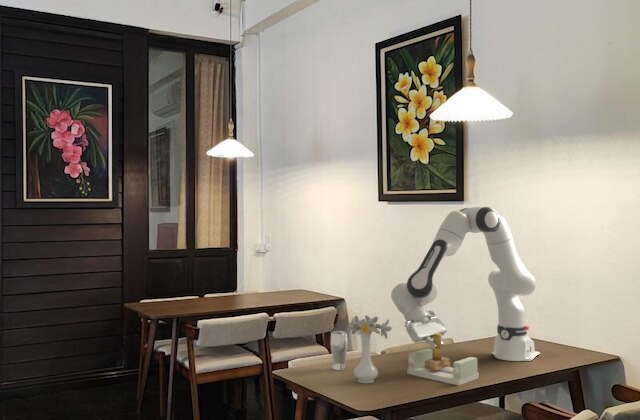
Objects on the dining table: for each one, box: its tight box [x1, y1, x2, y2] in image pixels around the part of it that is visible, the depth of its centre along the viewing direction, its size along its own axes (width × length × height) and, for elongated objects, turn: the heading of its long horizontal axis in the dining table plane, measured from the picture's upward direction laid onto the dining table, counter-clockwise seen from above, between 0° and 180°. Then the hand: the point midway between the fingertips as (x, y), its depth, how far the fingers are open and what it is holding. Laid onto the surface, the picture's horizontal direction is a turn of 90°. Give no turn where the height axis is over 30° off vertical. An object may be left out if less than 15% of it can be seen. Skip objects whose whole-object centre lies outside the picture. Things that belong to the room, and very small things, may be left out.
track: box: [406, 348, 480, 386], centre depth 256 cm, size 14×24×8 cm, turn 45°
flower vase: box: [345, 315, 392, 384], centre depth 249 cm, size 13×18×25 cm
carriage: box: [425, 334, 451, 371], centre depth 257 cm, size 10×5×13 cm, turn 135°
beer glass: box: [330, 330, 348, 372], centre depth 267 cm, size 7×7×15 cm
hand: (438, 346), depth 257 cm, fingers closed on carriage, 3 cm apart
